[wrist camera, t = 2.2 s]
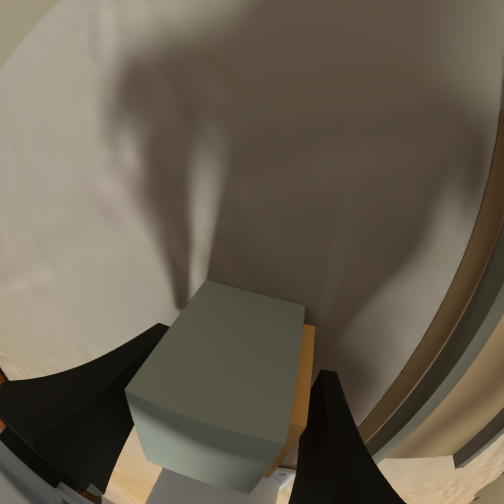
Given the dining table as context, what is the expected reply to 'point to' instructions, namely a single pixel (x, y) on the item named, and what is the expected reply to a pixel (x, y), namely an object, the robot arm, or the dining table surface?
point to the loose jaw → (225, 387)
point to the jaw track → (455, 356)
